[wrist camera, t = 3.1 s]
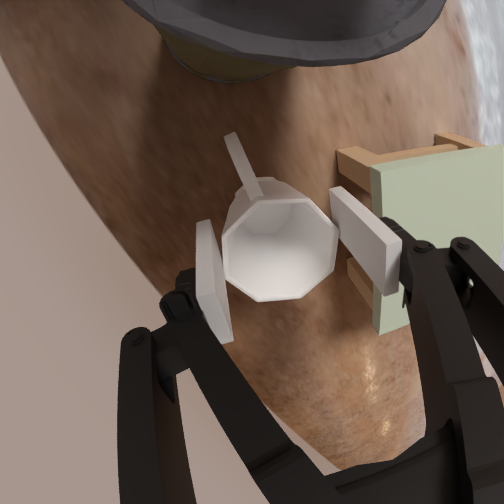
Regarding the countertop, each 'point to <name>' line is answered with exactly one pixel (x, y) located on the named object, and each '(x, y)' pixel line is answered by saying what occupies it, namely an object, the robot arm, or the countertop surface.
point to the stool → (429, 204)
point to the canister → (283, 32)
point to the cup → (274, 236)
